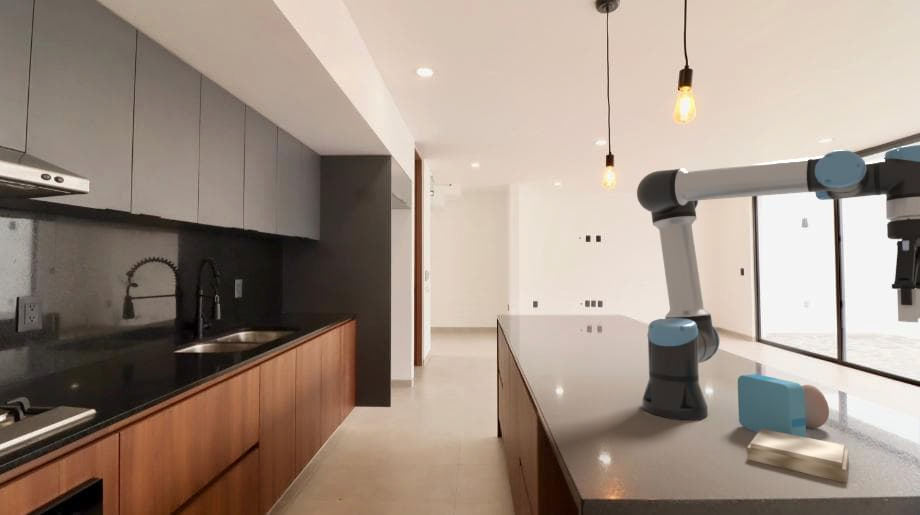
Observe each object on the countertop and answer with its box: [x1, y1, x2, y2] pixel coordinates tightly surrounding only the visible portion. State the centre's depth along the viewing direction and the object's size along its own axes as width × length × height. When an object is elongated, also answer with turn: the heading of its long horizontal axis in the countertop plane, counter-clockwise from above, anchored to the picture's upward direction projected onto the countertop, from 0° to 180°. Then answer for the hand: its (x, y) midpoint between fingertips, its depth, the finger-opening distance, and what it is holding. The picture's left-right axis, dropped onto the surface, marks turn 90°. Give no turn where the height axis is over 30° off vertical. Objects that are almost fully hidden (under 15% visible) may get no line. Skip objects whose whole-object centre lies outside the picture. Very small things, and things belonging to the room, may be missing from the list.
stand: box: [746, 429, 850, 484], centre depth 82 cm, size 14×12×3 cm
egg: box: [801, 384, 830, 429], centre depth 100 cm, size 7×7×10 cm
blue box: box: [737, 373, 807, 438], centre depth 96 cm, size 12×4×12 cm, turn 17°
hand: (915, 320), depth 91 cm, fingers open, 13 cm apart
